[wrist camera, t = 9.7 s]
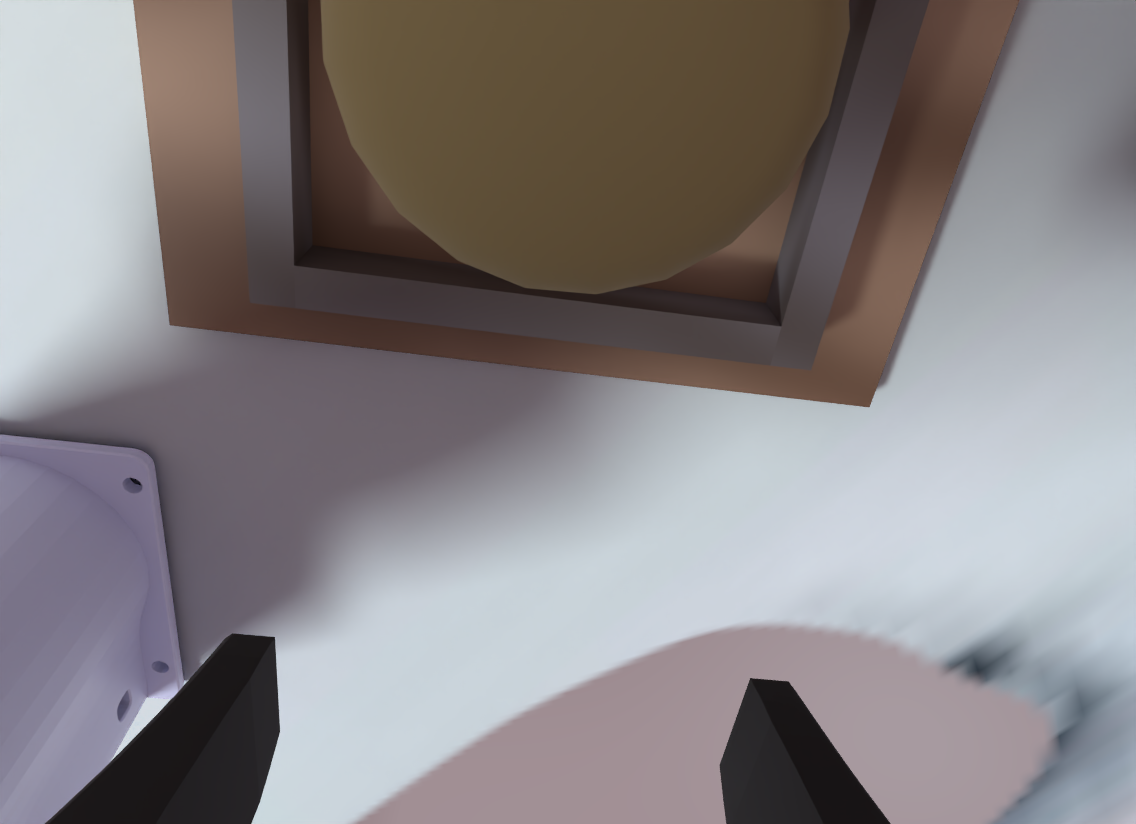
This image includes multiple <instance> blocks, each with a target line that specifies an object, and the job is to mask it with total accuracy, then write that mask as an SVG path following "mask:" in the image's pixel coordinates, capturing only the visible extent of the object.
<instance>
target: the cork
mask: <svg viewBox="0 0 1136 824" xmlns="http://www.w3.org/2000/svg"><path fill="white" fill-rule="evenodd" d="M321 23H322V45H323V62H324V65H325V68H326V71H327V74H328V77H329V80H330V83H331V86H332V89H333V92H334V95H335V98H336V101H337V104H338V107H339V110H340V113H341V116H342V119H343V122H344V124H345V127H346V130H347V133H348V136H349V139H350V142H351V145H352V147H353V148H354V149H355V151H356V152H357V154H358V155H359V157H360V158H361V160H362V161H363V162H364V164H365V165H366V167H367V168H368V170H369V171H370V173H371V174H372V175H373V177H374V178H375V180H376V181H377V183H378V184H379V186H380V187H381V188H382V190H383V191H384V193H385V194H386V196H387V197H388V199H389V200H390V201H391V203H392V204H393V206H394V207H395V209H396V210H397V212H398V213H399V214H401V215H402V216H403V217H404V218H406V219H407V220H408V221H409V222H411V223H412V224H413V225H414V226H416V227H417V228H418V229H419V230H420V231H422V232H423V233H424V234H425V235H427V236H428V237H429V238H430V239H432V240H433V241H434V242H435V243H437V244H438V245H439V246H440V247H441V248H443V249H444V250H445V251H446V252H448V253H449V254H450V255H451V256H453V257H454V258H455V259H456V260H458V261H460V262H462V263H465V264H467V265H470V266H472V267H475V268H477V269H480V270H482V271H484V272H487V273H489V274H492V275H494V276H497V277H499V278H502V279H504V280H507V281H509V282H511V283H514V284H516V285H519V286H521V287H524V288H530V289H541V290H553V291H564V292H575V293H586V294H600V293H605V292H609V291H614V290H619V289H624V288H628V287H633V286H638V285H643V284H647V283H652V282H657V281H662V280H666V279H668V278H670V277H672V276H673V275H675V274H677V273H679V272H681V271H683V270H684V269H686V268H688V267H690V266H692V265H694V264H695V263H697V262H699V261H701V260H703V259H705V258H706V257H708V256H710V255H712V254H714V253H716V252H717V251H719V250H721V249H723V248H725V247H727V246H728V245H730V244H732V243H733V242H734V241H735V240H736V239H737V238H738V237H739V236H740V235H741V234H742V233H743V232H744V231H745V230H746V229H747V228H748V227H749V226H750V225H751V224H752V223H753V222H754V221H755V220H756V219H757V218H758V217H759V216H760V215H761V214H762V213H763V212H764V211H765V210H766V209H767V208H768V207H769V206H770V205H771V204H772V203H773V202H774V201H775V200H776V199H777V198H778V197H779V196H780V195H781V194H782V193H783V192H784V191H785V190H786V189H787V188H788V186H789V184H790V182H791V181H792V179H793V177H794V175H795V173H796V172H797V170H798V168H799V166H800V165H801V163H802V161H803V159H804V158H805V156H806V154H807V152H808V150H809V149H810V147H811V145H812V143H813V142H814V140H815V138H816V136H817V135H818V133H819V131H820V129H821V127H822V126H823V124H824V122H825V120H826V119H827V117H828V115H829V111H830V107H831V103H832V98H833V94H834V90H835V86H836V82H837V78H838V74H839V70H840V66H841V62H842V58H843V54H844V50H845V46H846V42H847V38H848V34H849V30H850V19H849V0H321Z"/></svg>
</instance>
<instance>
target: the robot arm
mask: <svg viewBox="0 0 1136 824" xmlns="http://www.w3.org/2000/svg"><path fill="white" fill-rule="evenodd" d="M130 478H134V479H137V480H138V481H139V482H141V484H142V485H141V486H140V485H137V484H134V483H133V482H132V481H131V480H130ZM163 662H164V663H163ZM183 685H184V679H183V671H182V664H181V656H180V649H179V641H178V634H177V627H176V619H175V612H174V604H173V597H172V590H171V582H170V575H169V567H168V560H167V553H166V545H165V538H164V530H163V523H162V516H161V508H160V501H159V493H158V486H157V479H156V471H155V465H154V462H153V460H152V458H151V457H150V456H149V455H148V454H147V453H145V452H143V451H142V450H138V449H134V448H126V447H116V446H107V445H97V444H87V443H78V442H68V441H59V440H49V439H40V438H30V437H20V436H11V435H1V434H0V824H251V823H252V820H253V818H254V815H255V813H256V810H257V808H258V805H259V803H260V799H261V796H262V793H263V789H264V786H265V783H266V779H267V776H268V772H269V769H270V765H271V762H272V758H273V755H274V751H275V747H276V744H277V740H278V737H279V733H280V723H279V705H278V687H277V669H276V650H275V637H267V636H255V635H244V634H231V635H230V636H228V637H227V638H225V639H224V640H223V642H222V643H221V644H220V645H219V646H218V647H217V649H216V650H215V651H214V652H213V653H212V654H211V656H210V657H209V658H208V659H207V660H206V661H205V662H204V664H203V665H202V666H201V667H200V668H199V669H198V670H197V672H196V673H195V674H194V675H193V676H192V677H191V678H190V679H189V681H188V682H187V683H186V684H185V685H184V686H183ZM147 697H150V698H163V699H169V698H172V699H171V700H170V701H169V702H168V703H167V704H166V706H165V707H164V708H163V709H162V710H161V711H160V712H159V713H158V714H157V715H156V716H155V717H154V718H153V719H152V720H151V721H150V722H149V723H148V724H147V725H146V726H145V727H144V728H143V729H142V731H141V732H140V733H139V734H138V735H137V736H136V737H135V738H134V739H133V740H132V741H131V742H130V743H129V744H128V745H127V746H126V747H125V748H124V749H123V750H122V751H121V752H120V753H119V754H118V755H117V756H116V757H115V758H114V759H113V760H112V758H113V756H114V754H115V753H116V751H117V749H118V747H119V745H120V744H121V742H122V740H123V738H124V737H125V735H126V733H127V731H128V729H129V728H130V726H131V724H132V722H133V721H134V719H135V717H136V715H137V714H138V712H139V710H140V708H141V706H142V705H143V703H144V701H145V699H146V698H147ZM111 760H112V761H111ZM110 761H111V762H110ZM720 773H721V782H722V790H723V801H724V808H725V816H726V823H727V824H890V822H889V821H888V820H887V818H886V817H885V816H884V814H883V813H882V812H881V810H880V809H879V808H878V806H877V805H876V804H875V802H874V801H873V800H872V798H871V797H870V796H869V794H868V793H867V792H866V790H865V789H864V788H863V786H862V785H861V784H860V782H859V781H858V779H857V778H856V777H855V775H854V774H853V773H852V771H851V770H850V768H849V767H848V766H847V764H846V763H845V761H844V760H843V759H842V757H841V756H840V754H839V753H838V751H837V750H836V749H835V747H834V746H833V744H832V743H831V742H830V740H829V739H828V737H827V736H826V734H825V733H824V732H823V730H822V729H821V727H820V726H819V724H818V723H817V722H816V720H815V719H814V717H813V716H812V714H811V713H810V711H809V710H808V708H807V707H806V705H805V704H804V703H803V701H802V700H801V698H800V697H799V695H798V694H797V692H796V691H795V690H794V688H793V687H792V686H791V685H790V683H789V682H787V681H776V680H764V679H752V678H750V681H749V684H748V686H747V690H746V692H745V695H744V698H743V700H742V703H741V706H740V709H739V712H738V715H737V717H736V721H735V723H734V726H733V729H732V732H731V735H730V737H729V740H728V743H727V746H726V749H725V752H724V754H723V758H722V760H721V763H720Z"/></svg>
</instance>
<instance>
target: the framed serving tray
mask: <svg viewBox="0 0 1136 824" xmlns="http://www.w3.org/2000/svg"><path fill="white" fill-rule="evenodd" d="M133 3H134V11H135V20H136V29H137V38H138V47H139V56H140V65H141V74H142V82H143V91H144V100H145V109H146V118H147V127H148V136H149V145H150V154H151V162H152V171H153V180H154V189H155V198H156V207H157V216H158V225H159V234H160V242H161V251H162V260H163V269H164V278H165V287H166V296H167V305H168V313H169V322H170V325H173V326H182V327H190V328H199V329H207V330H216V331H224V332H233V333H241V334H250V335H258V336H267V337H275V338H284V339H292V340H301V341H309V342H318V343H326V344H335V345H343V346H352V347H360V348H369V349H377V350H386V351H394V352H403V353H412V354H420V355H429V356H437V357H446V358H454V359H463V360H471V361H480V362H488V363H497V364H505V365H514V366H522V367H531V368H539V369H548V370H556V371H565V372H573V373H582V374H590V375H599V376H607V377H616V378H624V379H633V380H641V381H650V382H658V383H667V384H675V385H684V386H692V387H701V388H710V389H718V390H727V391H735V392H744V393H752V394H761V395H769V396H778V397H786V398H795V399H803V400H812V401H820V402H829V403H837V404H846V405H854V406H863V407H870V404H871V401H872V399H873V396H874V393H875V391H876V388H877V385H878V382H879V380H880V377H881V374H882V372H883V369H884V366H885V363H886V361H887V358H888V355H889V353H890V350H891V347H892V344H893V342H894V339H895V336H896V334H897V331H898V328H899V325H900V323H901V320H902V317H903V315H904V312H905V309H906V307H907V304H908V301H909V298H910V296H911V293H912V290H913V288H914V285H915V282H916V279H917V277H918V274H919V271H920V269H921V266H922V263H923V260H924V258H925V255H926V252H927V250H928V247H929V244H930V241H931V239H932V236H933V233H934V231H935V228H936V225H937V222H938V220H939V217H940V214H941V212H942V209H943V206H944V203H945V201H946V198H947V195H948V193H949V190H950V187H951V184H952V182H953V179H954V176H955V174H956V171H957V168H958V165H959V163H960V160H961V157H962V155H963V152H964V149H965V146H966V144H967V141H968V138H969V136H970V133H971V130H972V127H973V125H974V122H975V119H976V117H977V114H978V111H979V108H980V106H981V103H982V100H983V98H984V95H985V92H986V90H987V87H988V84H989V81H990V79H991V76H992V73H993V71H994V68H995V65H996V62H997V60H998V57H999V54H1000V52H1001V49H1002V46H1003V43H1004V41H1005V38H1006V35H1007V33H1008V30H1009V27H1010V24H1011V22H1012V19H1013V16H1014V14H1015V11H1016V8H1017V5H1018V3H1019V0H849V19H850V30H849V34H848V38H847V42H846V46H845V50H844V54H843V58H842V62H841V66H840V70H839V74H838V78H837V82H836V86H835V90H834V94H833V98H832V103H831V107H830V111H829V115H828V117H827V119H826V120H825V122H824V124H823V126H822V127H821V129H820V131H819V133H818V135H817V136H816V138H815V140H814V142H813V143H812V145H811V147H810V149H809V150H808V152H807V154H806V156H805V158H804V159H803V161H802V163H801V165H800V166H799V168H798V170H797V172H796V173H795V175H794V177H793V179H792V181H791V182H790V184H789V186H788V188H787V189H786V190H785V191H784V192H783V193H782V194H781V195H780V196H779V197H778V198H777V199H776V200H775V201H774V202H773V203H772V204H771V205H770V206H769V207H768V208H767V209H766V210H765V211H764V212H763V213H762V214H761V215H760V216H759V217H758V218H757V219H756V220H755V221H754V222H753V223H752V224H751V225H750V226H749V227H748V228H747V229H746V230H745V231H744V232H743V233H742V234H741V235H740V236H739V237H738V238H737V239H736V240H735V241H734V242H733V243H732V244H730V245H728V246H727V247H725V248H723V249H721V250H719V251H717V252H716V253H714V254H712V255H710V256H708V257H706V258H705V259H703V260H701V261H699V262H697V263H695V264H694V265H692V266H690V267H688V268H686V269H684V270H683V271H681V272H679V273H677V274H675V275H673V276H672V277H670V278H668V279H666V280H662V281H657V282H652V283H647V284H643V285H638V286H633V287H628V288H624V289H619V290H614V291H609V292H605V293H600V294H586V293H575V292H564V291H553V290H541V289H530V288H524V287H521V286H519V285H516V284H514V283H511V282H509V281H507V280H504V279H502V278H499V277H497V276H494V275H492V274H489V273H487V272H484V271H482V270H480V269H477V268H475V267H472V266H470V265H467V264H465V263H462V262H460V261H458V260H456V259H455V258H454V257H453V256H451V255H450V254H449V253H448V252H446V251H445V250H444V249H443V248H441V247H440V246H439V245H438V244H437V243H435V242H434V241H433V240H432V239H430V238H429V237H428V236H427V235H425V234H424V233H423V232H422V231H420V230H419V229H418V228H417V227H416V226H414V225H413V224H412V223H411V222H409V221H408V220H407V219H406V218H404V217H403V216H402V215H401V214H399V213H398V212H397V210H396V209H395V207H394V206H393V204H392V203H391V201H390V200H389V199H388V197H387V196H386V194H385V193H384V191H383V190H382V188H381V187H380V186H379V184H378V183H377V181H376V180H375V178H374V177H373V175H372V174H371V173H370V171H369V170H368V168H367V167H366V165H365V164H364V162H363V161H362V160H361V158H360V157H359V155H358V154H357V152H356V151H355V149H354V148H353V147H352V145H351V142H350V139H349V136H348V133H347V130H346V127H345V124H344V122H343V119H342V116H341V113H340V110H339V107H338V104H337V101H336V98H335V95H334V92H333V89H332V86H331V83H330V80H329V77H328V74H327V71H326V68H325V65H324V62H323V45H322V23H321V0H133Z"/></svg>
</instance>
